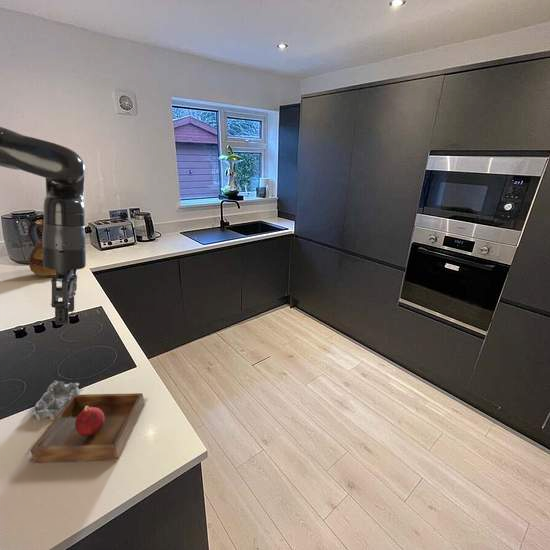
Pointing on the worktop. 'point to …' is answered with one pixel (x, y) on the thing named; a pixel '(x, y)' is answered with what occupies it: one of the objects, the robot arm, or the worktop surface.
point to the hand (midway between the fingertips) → (65, 317)
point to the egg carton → (55, 399)
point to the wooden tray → (100, 446)
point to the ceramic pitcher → (38, 251)
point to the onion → (89, 421)
